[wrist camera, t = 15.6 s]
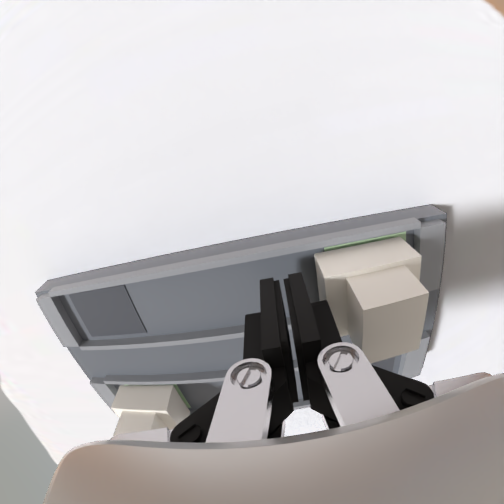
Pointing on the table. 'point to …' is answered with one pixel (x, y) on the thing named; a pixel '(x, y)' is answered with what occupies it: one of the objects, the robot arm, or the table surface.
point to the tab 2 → (375, 295)
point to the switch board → (216, 304)
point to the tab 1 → (148, 408)
